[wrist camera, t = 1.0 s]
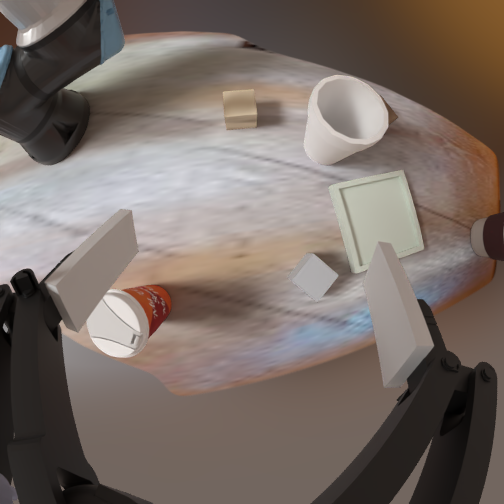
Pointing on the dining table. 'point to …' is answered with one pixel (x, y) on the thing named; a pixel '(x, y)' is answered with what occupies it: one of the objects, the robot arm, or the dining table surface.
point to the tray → (376, 217)
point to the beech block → (240, 109)
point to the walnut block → (390, 113)
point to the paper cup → (128, 319)
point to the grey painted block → (312, 276)
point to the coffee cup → (489, 237)
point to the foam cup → (343, 119)
